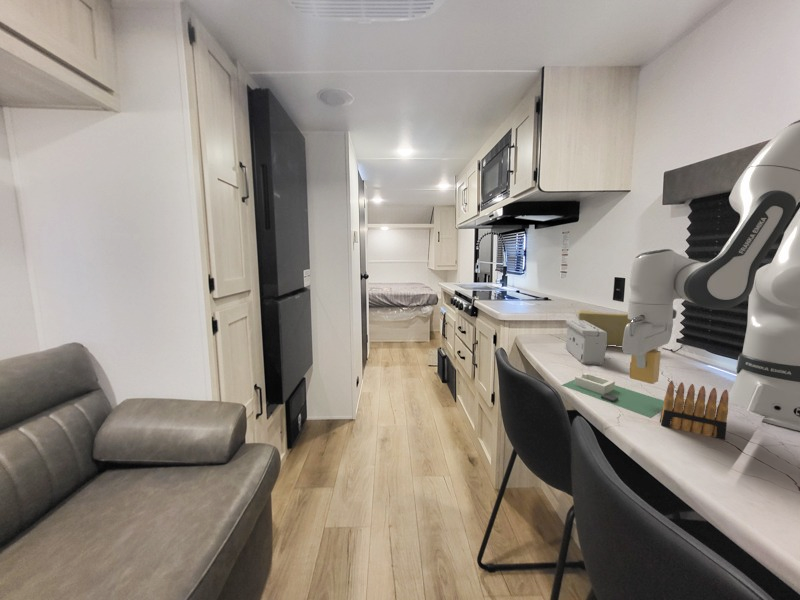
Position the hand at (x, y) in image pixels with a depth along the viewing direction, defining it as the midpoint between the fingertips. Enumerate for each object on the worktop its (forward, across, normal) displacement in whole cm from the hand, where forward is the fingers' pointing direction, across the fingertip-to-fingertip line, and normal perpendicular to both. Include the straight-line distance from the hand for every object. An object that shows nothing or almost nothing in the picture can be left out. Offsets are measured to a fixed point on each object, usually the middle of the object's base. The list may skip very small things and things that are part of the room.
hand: (645, 365), depth 80 cm
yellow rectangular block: (+4, 0, 0) cm, 4 cm away
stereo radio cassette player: (+11, +28, +30) cm, 43 cm away
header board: (+11, -1, +7) cm, 13 cm away
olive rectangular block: (+11, +55, +34) cm, 65 cm away
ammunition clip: (+12, -7, -11) cm, 18 cm away
